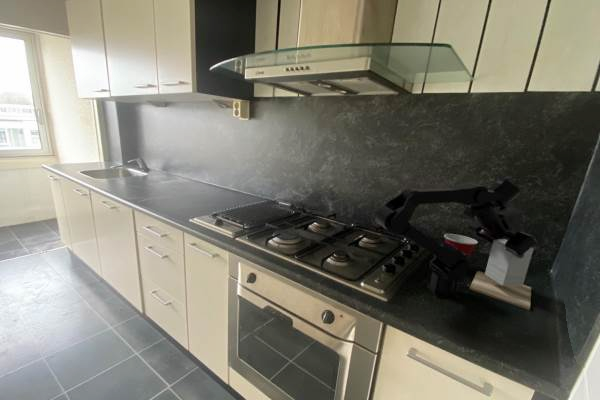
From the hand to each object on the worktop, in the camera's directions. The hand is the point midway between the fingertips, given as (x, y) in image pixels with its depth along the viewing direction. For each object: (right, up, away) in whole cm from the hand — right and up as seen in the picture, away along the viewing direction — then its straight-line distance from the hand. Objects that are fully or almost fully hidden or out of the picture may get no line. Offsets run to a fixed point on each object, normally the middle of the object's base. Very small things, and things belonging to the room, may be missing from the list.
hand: (510, 251), depth 85 cm
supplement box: (-1, -10, +3) cm, 10 cm away
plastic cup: (-8, -9, +17) cm, 21 cm away
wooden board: (-1, -13, +4) cm, 13 cm away
